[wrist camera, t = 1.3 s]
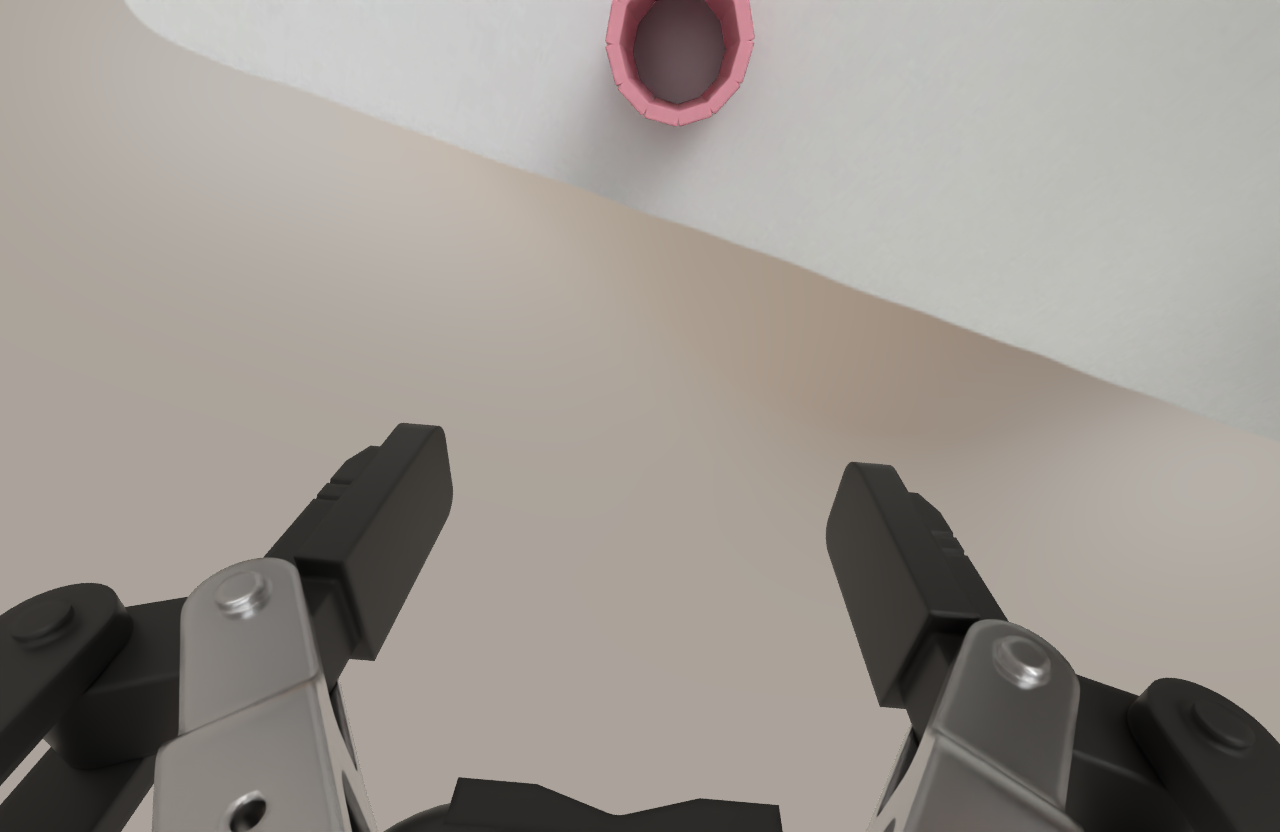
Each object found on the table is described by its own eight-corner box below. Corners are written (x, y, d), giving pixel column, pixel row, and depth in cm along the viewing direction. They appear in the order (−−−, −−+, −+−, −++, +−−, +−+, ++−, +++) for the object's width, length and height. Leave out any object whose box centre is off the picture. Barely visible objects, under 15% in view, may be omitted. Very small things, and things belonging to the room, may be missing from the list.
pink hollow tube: (638, -36, 27) (625, -74, 21) (751, -1, 28) (775, -27, 21) (612, 97, 30) (594, 103, 24) (714, 127, 31) (725, 140, 24)
